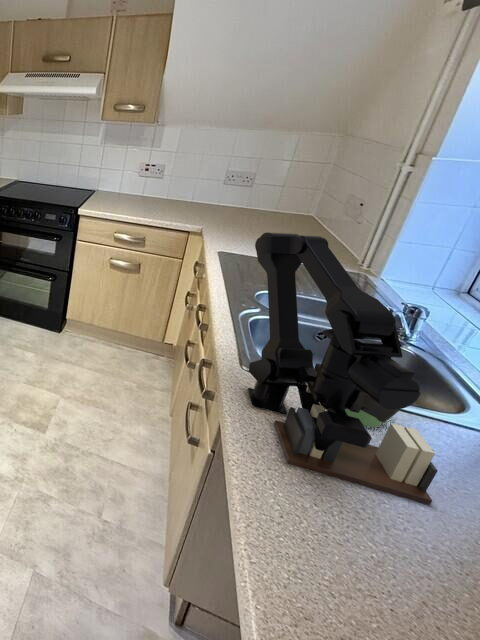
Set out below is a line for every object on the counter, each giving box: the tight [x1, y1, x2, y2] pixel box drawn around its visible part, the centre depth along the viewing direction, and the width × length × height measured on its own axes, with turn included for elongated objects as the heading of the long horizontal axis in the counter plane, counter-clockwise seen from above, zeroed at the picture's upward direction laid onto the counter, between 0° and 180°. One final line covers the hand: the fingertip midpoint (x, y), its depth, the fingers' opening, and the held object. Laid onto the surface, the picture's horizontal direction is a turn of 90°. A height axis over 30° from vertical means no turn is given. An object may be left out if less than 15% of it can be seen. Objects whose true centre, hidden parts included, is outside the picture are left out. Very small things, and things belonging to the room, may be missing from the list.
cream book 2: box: [376, 422, 419, 482], centre depth 74 cm, size 6×2×8 cm, turn 156°
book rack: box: [273, 406, 439, 506], centre depth 77 cm, size 11×20×6 cm, turn 66°
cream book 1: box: [309, 404, 326, 459], centre depth 78 cm, size 6×2×8 cm, turn 156°
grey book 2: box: [322, 441, 343, 463], centre depth 78 cm, size 6×2×6 cm, turn 156°
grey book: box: [295, 407, 314, 455], centre depth 79 cm, size 6×2×6 cm, turn 156°
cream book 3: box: [403, 426, 436, 486], centre depth 73 cm, size 6×2×8 cm, turn 156°
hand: (313, 438), depth 79 cm, fingers closed on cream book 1, 6 cm apart
